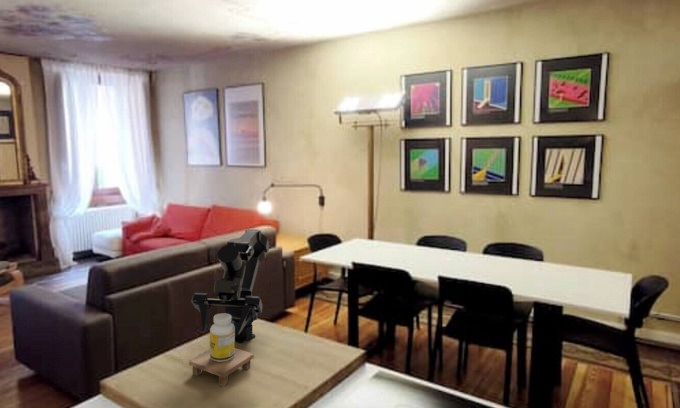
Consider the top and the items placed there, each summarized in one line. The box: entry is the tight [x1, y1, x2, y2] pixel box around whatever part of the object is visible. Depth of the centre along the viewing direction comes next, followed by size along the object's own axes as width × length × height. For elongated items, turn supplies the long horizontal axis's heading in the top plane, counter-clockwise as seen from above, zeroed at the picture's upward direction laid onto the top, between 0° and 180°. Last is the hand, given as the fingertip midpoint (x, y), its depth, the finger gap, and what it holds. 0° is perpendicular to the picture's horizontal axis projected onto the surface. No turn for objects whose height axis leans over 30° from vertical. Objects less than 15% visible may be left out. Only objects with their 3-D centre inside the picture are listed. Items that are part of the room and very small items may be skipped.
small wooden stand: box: [188, 347, 255, 387], centre depth 122 cm, size 12×12×4 cm
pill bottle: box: [209, 312, 236, 362], centre depth 121 cm, size 6×6×12 cm
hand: (220, 332), depth 119 cm, fingers open, 9 cm apart
